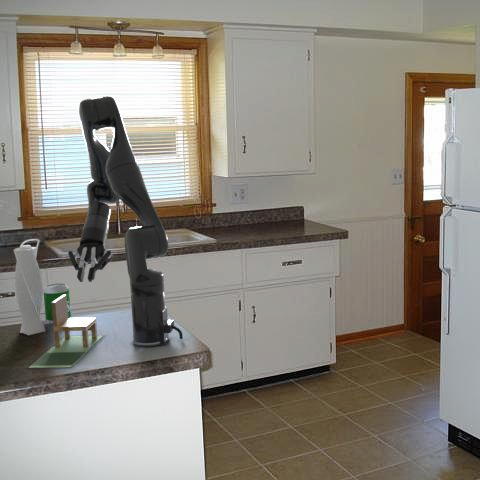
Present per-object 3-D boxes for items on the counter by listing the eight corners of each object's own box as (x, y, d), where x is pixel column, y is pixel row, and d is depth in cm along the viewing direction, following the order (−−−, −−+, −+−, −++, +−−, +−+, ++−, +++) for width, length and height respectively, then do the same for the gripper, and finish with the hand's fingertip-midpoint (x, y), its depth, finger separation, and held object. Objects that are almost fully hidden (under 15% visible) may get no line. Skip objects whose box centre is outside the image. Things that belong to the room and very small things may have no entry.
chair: (97, 337, 211) (94, 294, 209) (87, 347, 202) (84, 301, 200) (66, 338, 211) (63, 294, 209) (55, 347, 202) (51, 302, 200)
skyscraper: (39, 326, 224) (32, 237, 219) (52, 331, 219) (45, 239, 214) (14, 332, 218) (6, 240, 213) (27, 337, 213) (19, 243, 209)
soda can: (63, 326, 224) (60, 288, 222) (41, 325, 225) (38, 287, 224) (76, 319, 231) (73, 283, 229) (54, 318, 233) (51, 282, 231)
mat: (103, 336, 213) (103, 335, 213) (71, 367, 186) (71, 366, 186) (65, 336, 213) (65, 336, 213) (28, 368, 186) (28, 367, 186)
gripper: (69, 226, 222) (57, 273, 212) (114, 225, 222) (105, 273, 212) (76, 240, 228) (65, 287, 218) (120, 239, 228) (111, 286, 218)
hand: (85, 280), depth 215 cm, fingers closed
